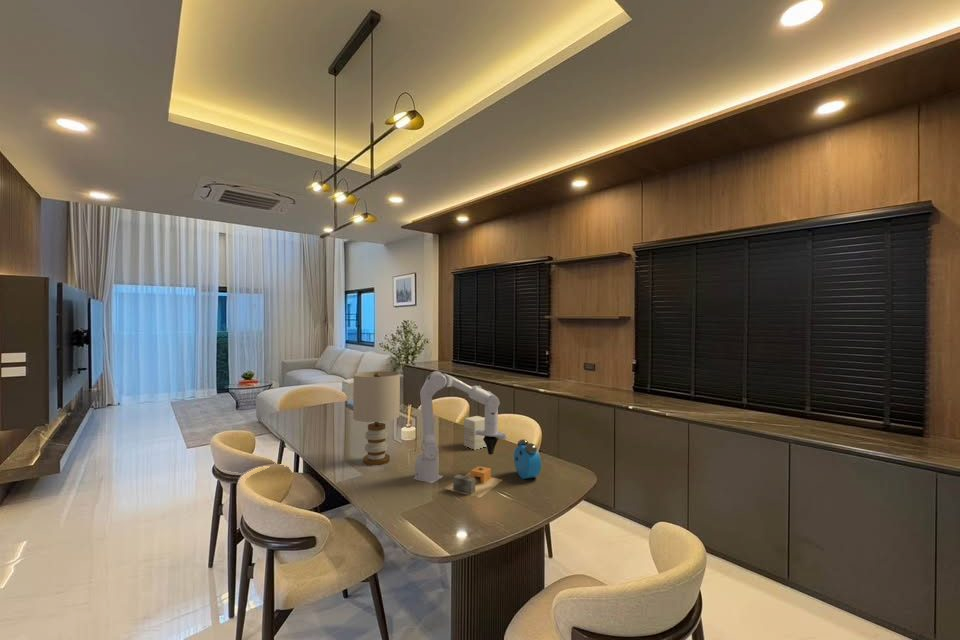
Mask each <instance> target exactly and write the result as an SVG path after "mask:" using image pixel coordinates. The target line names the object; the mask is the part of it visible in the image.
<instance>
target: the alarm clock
mask: <svg viewBox="0 0 960 640" xmlns="http://www.w3.org/2000/svg"><path fill="white" fill-rule="evenodd" d="M516 444H517V445H516V446H517V447H516V448H515V450H514V453H513V462H514V467H515V470H516V473H517V474H518V476H519V477H520V478H521V479H524V480H526V479H531V478H534V480H535V479H537V477H539V475H541V474H540V473H541V470H542V459H541V456H540V452H539V450H538V447H537V445H535V444H534V443H531V442H530V443H529V441H528V440H527V439H523V438H522V439H519V440H518V441H517V443H516Z"/></svg>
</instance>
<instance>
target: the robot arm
mask: <svg viewBox="0 0 960 640" xmlns="http://www.w3.org/2000/svg"><path fill="white" fill-rule="evenodd" d="M421 387H422V388H421V389H420V393H419V394H420V407H421V409H420V410H421V421H422V433H423V435H422V441H421V442H422V443H421V449H422V454H421V455H418V456H417V457H416V459H415V462H414V477H413V480H416V481H421V482H424V483H429V484H433V483H435V482H436V481H439V480H440V479H442V478H443V475H440V473H439V470H440V469H439V468H440V467H439V466H440V465H439V463H440V461H439V460H440V458H439V456H440V455H439V454H440V449H439V447H438V445H437V440H436V439H437V438H436V433H435V424H434V423H435V421H434V408H433V396H434V395H435V394H436V393H437V392H438V391H439V390H443V388H445V387H446V388H449V387H450V388H451V387H454V388H456V389H458V390H460V391H462V392H465V393H466V394H468V397H469V398H470V399H472V400H473V401H475V402H478V403H480V404H482V405H484V418H485V430H476V431H475V435H482V436H485V437H484V438H483V440H484V442H485V444H486V446H487V447H486V449H487V453H488V455H489V456H492V455H494V451H495V447H496V446H497V443H498V441H499V439H501V440H503V441H504V440H507V439H508V434H507V433H503V432H500V431H498V429H499V426H498V425H499V420H498V419H499V411H498V410H499V409H498V408H499V406H500V404H501V402H500V399H499V397H498V396H496V394H493V393H492V392H491V391H490V390H485V389H484V388H482V386H481V385H472V386H471V385H468V384H467V383H465V382H463V381H461V380H459V379H458V378H456V377H454V376H452V375H449V374H447V373H444V372H443V373H442V372H441V371H439V370H435V371H433V372H431V373H430V374H429V375H427V376H426V378H425V381H424V383H423V386H421Z"/></svg>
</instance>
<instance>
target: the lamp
mask: <svg viewBox="0 0 960 640" xmlns="http://www.w3.org/2000/svg"><path fill="white" fill-rule="evenodd" d="M400 384H401V373H400V372H397V371H388V370H387V371H386V370H384V371H382V370H381V371H380V370H379V371H377V370H374V371H363V372H357V373H354V374H353V392H352V393H353V395H352V396H353V398H352V399H353V404H352V406H353V407H352V409H353V410H352V413H353V414H352V419H353V420H355V421H356V422H361V423H369V424H367V431H366V432H365V433H364V434H365V435H364V438H365V439H366V440H367V444H365V445H364V451H365V452H367V454H366V455H365V456H363V457H362V464H363V463H364V464H363V465H365V464H366V465H365V466H368V465H378V466H383V465H386V464H388V463H389V462H390V461H391V460H390V458H391V456H390V454H388V453H386V451H387V450H388V449H389V447H388V446H389V444H388V442H386V439H387V438H388V436H389V432H388V430H386V423H384V422H388V421H392V420H393V421H394V420H396V419H398V418H399V417H400V407H401V406H400V405H401V404H400V402H401V400H400V399H401V398H400V397H401V396H400V395H401V394H400V393H401V388H400V387H401V385H400ZM382 464H383V465H382Z"/></svg>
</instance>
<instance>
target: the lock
mask: <svg viewBox="0 0 960 640" xmlns="http://www.w3.org/2000/svg"><path fill="white" fill-rule="evenodd" d="M470 473H471V478H475V480H477V479H478V478H480V477H481V483H485V482H487V481H488V480H489V479H491V477H492V468H490V467H484V466H480V465H478V466H476V467H474V468H472V469H471V470H470Z"/></svg>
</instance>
